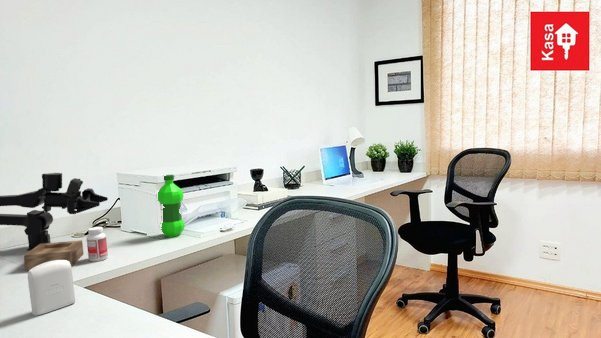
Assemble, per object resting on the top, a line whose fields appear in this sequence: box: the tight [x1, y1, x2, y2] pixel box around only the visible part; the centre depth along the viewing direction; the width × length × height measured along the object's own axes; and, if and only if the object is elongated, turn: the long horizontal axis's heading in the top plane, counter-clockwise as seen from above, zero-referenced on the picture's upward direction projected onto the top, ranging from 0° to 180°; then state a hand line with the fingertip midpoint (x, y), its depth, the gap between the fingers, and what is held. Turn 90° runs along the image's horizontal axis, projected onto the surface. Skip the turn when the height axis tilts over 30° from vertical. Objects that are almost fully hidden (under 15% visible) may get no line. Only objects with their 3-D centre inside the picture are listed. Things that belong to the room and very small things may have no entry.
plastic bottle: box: [157, 174, 186, 238], centre depth 182 cm, size 10×10×25 cm
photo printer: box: [27, 260, 76, 316], centre depth 114 cm, size 10×4×12 cm, turn 140°
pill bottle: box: [86, 226, 109, 262], centre depth 155 cm, size 6×6×11 cm
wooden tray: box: [23, 239, 85, 271], centre depth 153 cm, size 14×14×5 cm
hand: (103, 201), depth 173 cm, fingers open, 9 cm apart
